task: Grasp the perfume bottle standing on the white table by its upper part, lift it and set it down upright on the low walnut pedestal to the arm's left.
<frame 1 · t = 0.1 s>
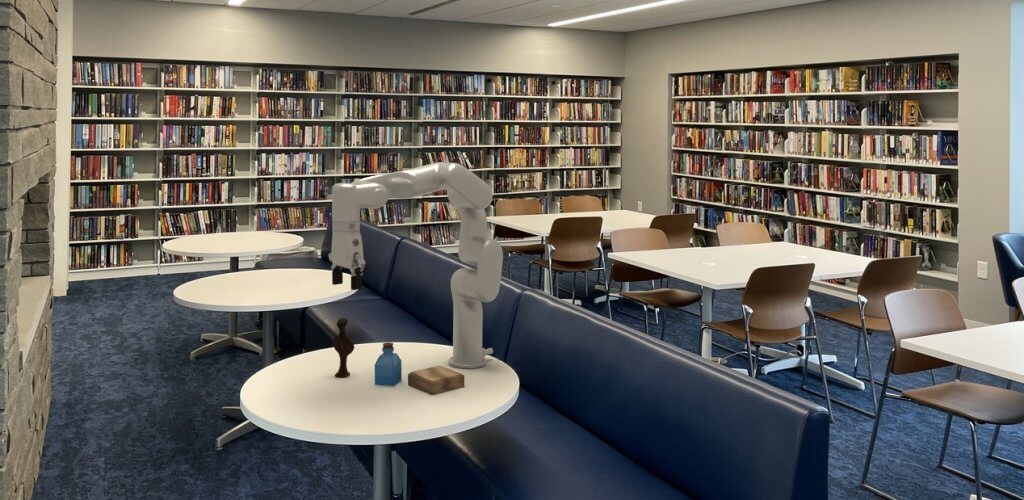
hand: (346, 286, 225), 31 cm above the table, fingers open, 9 cm apart
perfume bottle: (388, 382, 239), on the table
pedestal: (436, 385, 236), on the table
figurine: (343, 376, 244), on the table
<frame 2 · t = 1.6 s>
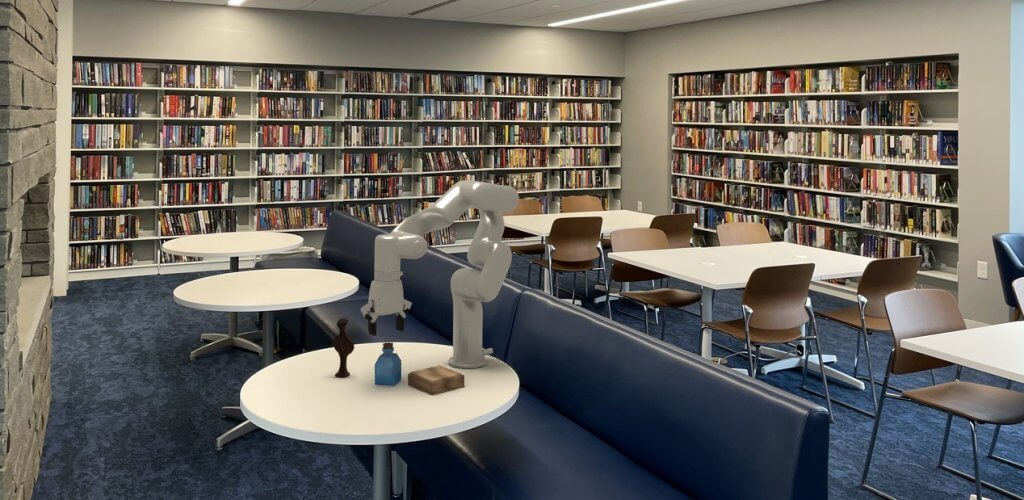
hand: (386, 332, 236), 15 cm above the table, fingers open, 9 cm apart
nothing on the table moved.
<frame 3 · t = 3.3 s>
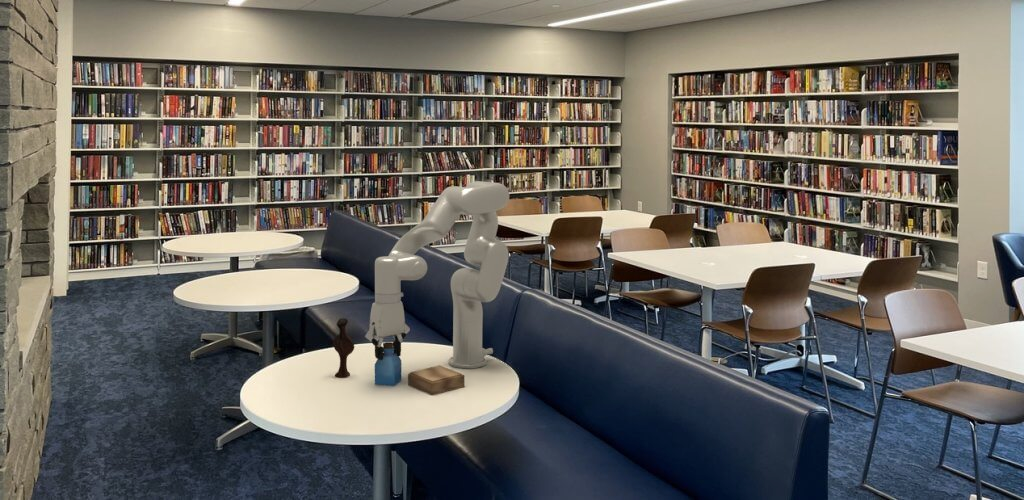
hand: (388, 356, 237), 8 cm above the table, fingers closed on perfume bottle, 5 cm apart
perfume bottle: (388, 382, 239), on the table, touching gripper
everything else where it was.
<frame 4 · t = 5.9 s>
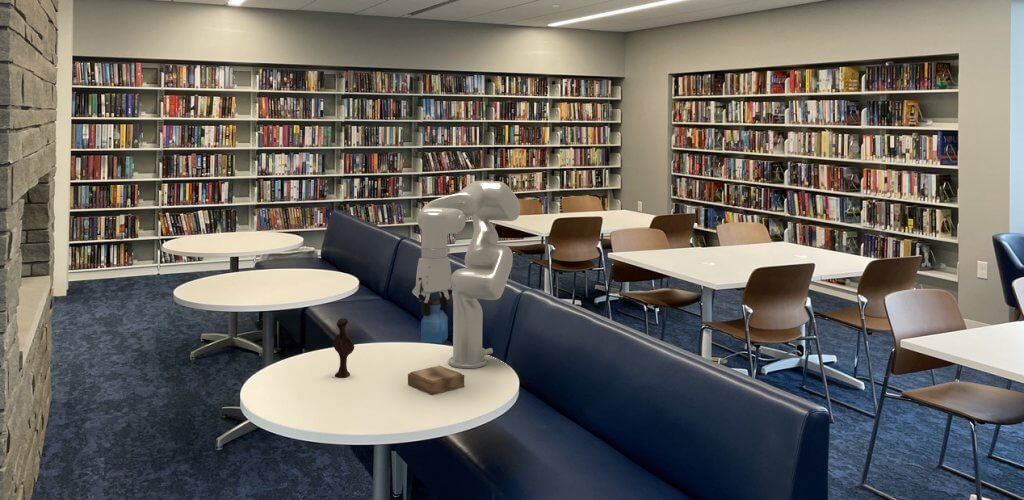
hand: (434, 313, 233), 22 cm above the table, fingers closed on perfume bottle, 5 cm apart
perfume bottle: (434, 340, 234), point 14 cm above the table, touching gripper
everything else where it was.
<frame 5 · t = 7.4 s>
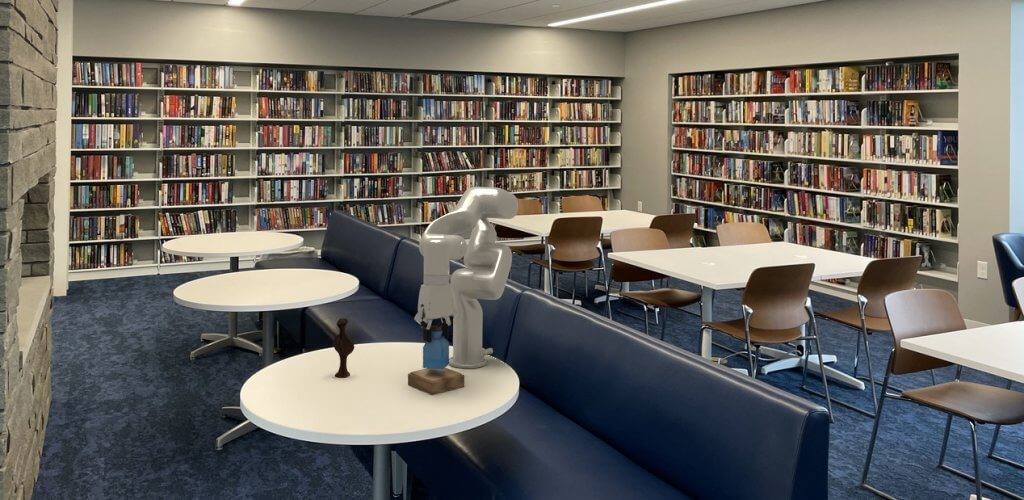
hand: (436, 339, 234), 14 cm above the table, fingers closed on perfume bottle, 5 cm apart
perfume bottle: (436, 366, 235), point 6 cm above the table, touching gripper
everything else where it was.
when the fingers open (12 cm above the table, at t = 8.7 s): perfume bottle stays where it is, resting on pedestal.
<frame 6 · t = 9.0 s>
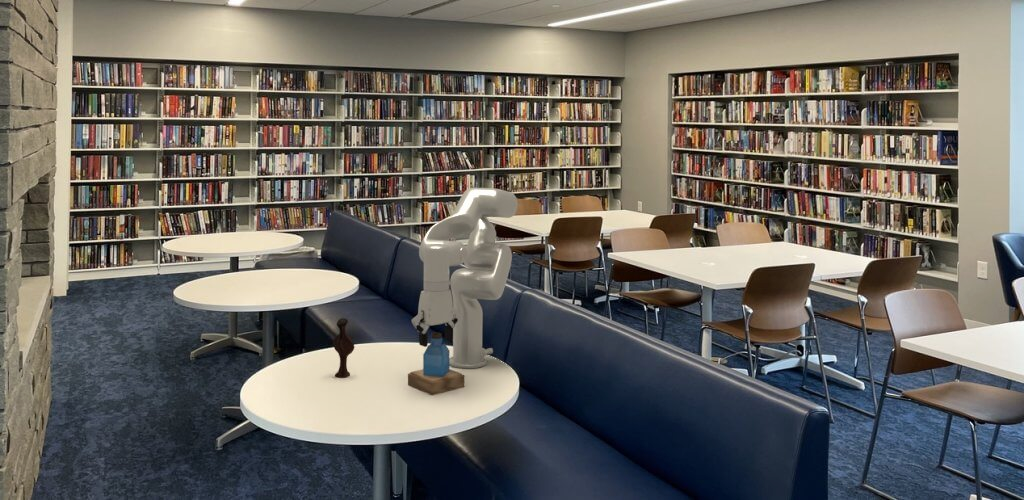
hand: (436, 343, 234), 13 cm above the table, fingers open, 9 cm apart
perfume bottle: (436, 373, 236), point 4 cm above the table, touching pedestal
everything else where it was.
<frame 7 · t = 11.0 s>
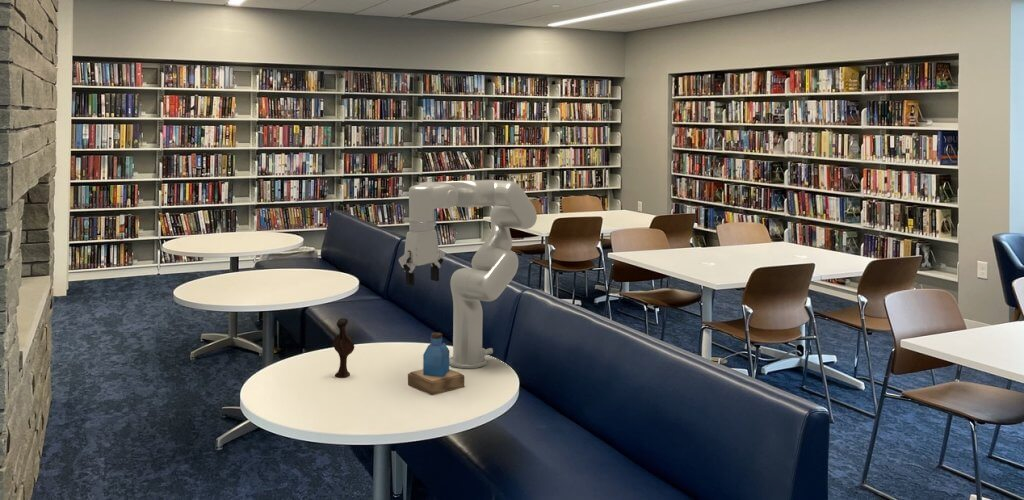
hand: (422, 282, 238), 30 cm above the table, fingers open, 9 cm apart
nothing on the table moved.
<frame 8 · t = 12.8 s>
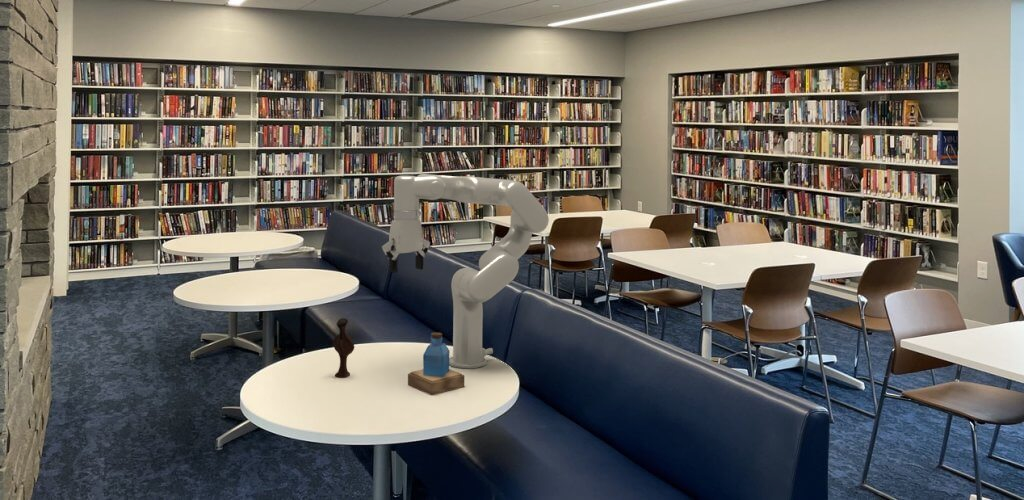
hand: (406, 270, 246), 32 cm above the table, fingers open, 9 cm apart
nothing on the table moved.
at the end: perfume bottle inside the target area on the pedestal (0.2 cm from its centre), point 3.8 cm above the pedestal's base; perfume bottle tilted 0°; the gripper is holding nothing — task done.
